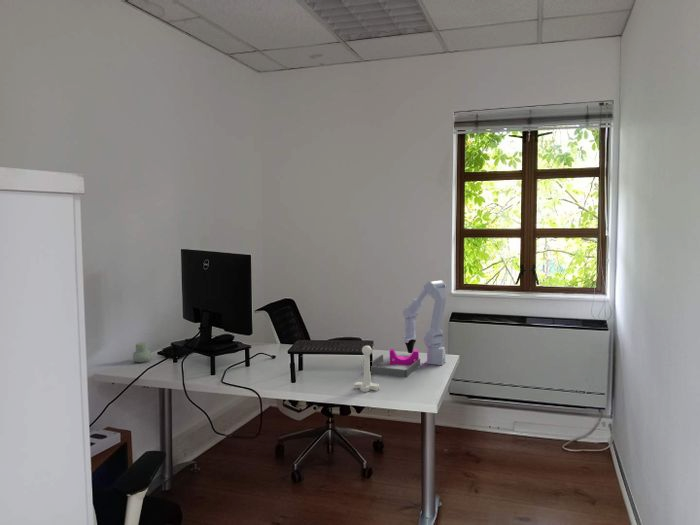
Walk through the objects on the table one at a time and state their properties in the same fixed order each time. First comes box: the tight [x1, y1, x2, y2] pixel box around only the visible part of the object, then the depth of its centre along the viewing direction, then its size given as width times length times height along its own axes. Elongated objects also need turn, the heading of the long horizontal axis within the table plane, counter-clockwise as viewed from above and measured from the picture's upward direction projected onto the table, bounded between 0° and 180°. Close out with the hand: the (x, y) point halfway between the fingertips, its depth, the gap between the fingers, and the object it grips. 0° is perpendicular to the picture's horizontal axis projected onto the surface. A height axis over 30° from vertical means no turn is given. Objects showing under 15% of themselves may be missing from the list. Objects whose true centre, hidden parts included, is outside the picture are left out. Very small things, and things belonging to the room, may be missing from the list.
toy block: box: [389, 348, 420, 366], centre depth 285 cm, size 15×6×8 cm, turn 80°
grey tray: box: [371, 354, 421, 378], centre depth 274 cm, size 22×23×4 cm
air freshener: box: [132, 342, 152, 363], centre depth 294 cm, size 11×8×10 cm
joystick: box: [353, 345, 380, 393], centre depth 241 cm, size 11×8×20 cm
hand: (410, 352), depth 300 cm, fingers closed
